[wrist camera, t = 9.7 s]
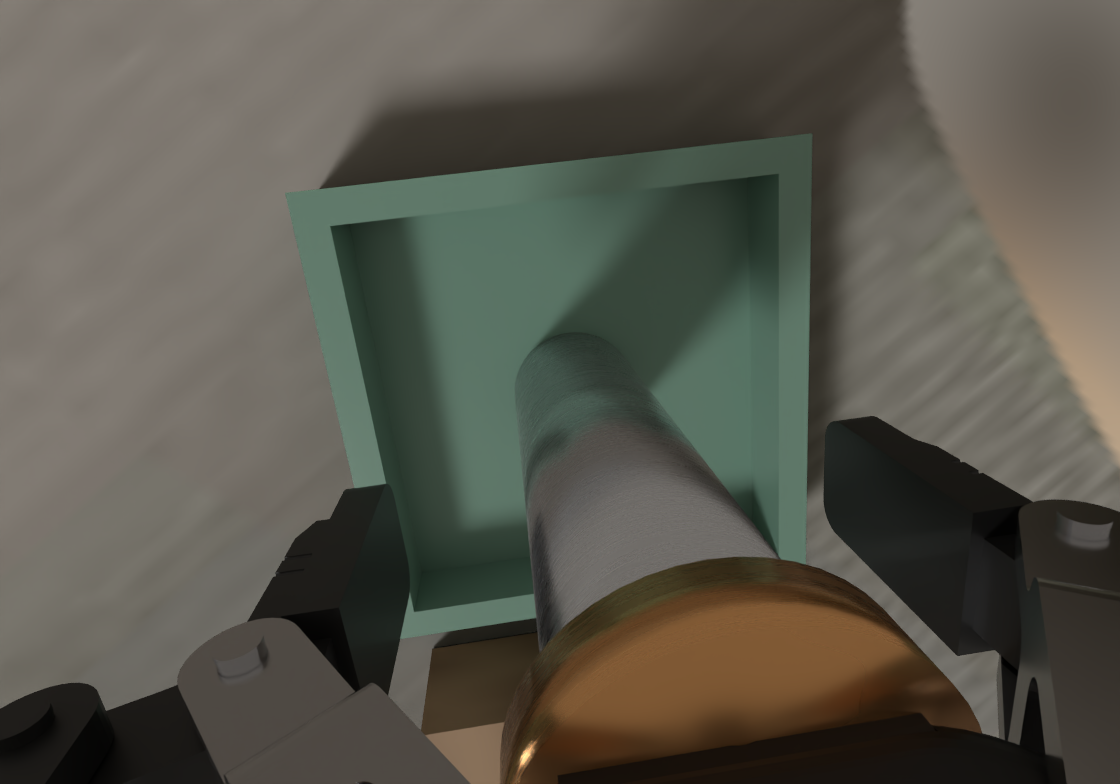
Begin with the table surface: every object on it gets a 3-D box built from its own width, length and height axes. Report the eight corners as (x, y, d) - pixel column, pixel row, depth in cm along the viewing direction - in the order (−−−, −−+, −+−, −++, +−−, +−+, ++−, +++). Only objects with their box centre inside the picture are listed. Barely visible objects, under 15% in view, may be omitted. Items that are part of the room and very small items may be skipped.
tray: (768, 141, 17) (812, 133, 15) (769, 531, 21) (805, 575, 18) (315, 192, 16) (285, 193, 14) (403, 586, 20) (390, 640, 18)
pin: (645, 305, 17) (1015, 588, 5) (654, 450, 19) (964, 955, 6) (486, 325, 17) (464, 676, 5) (507, 471, 18) (534, 1039, 6)
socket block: (698, 607, 21) (735, 683, 18) (707, 803, 24) (741, 901, 21) (432, 648, 21) (420, 735, 17) (473, 844, 24) (470, 951, 20)
